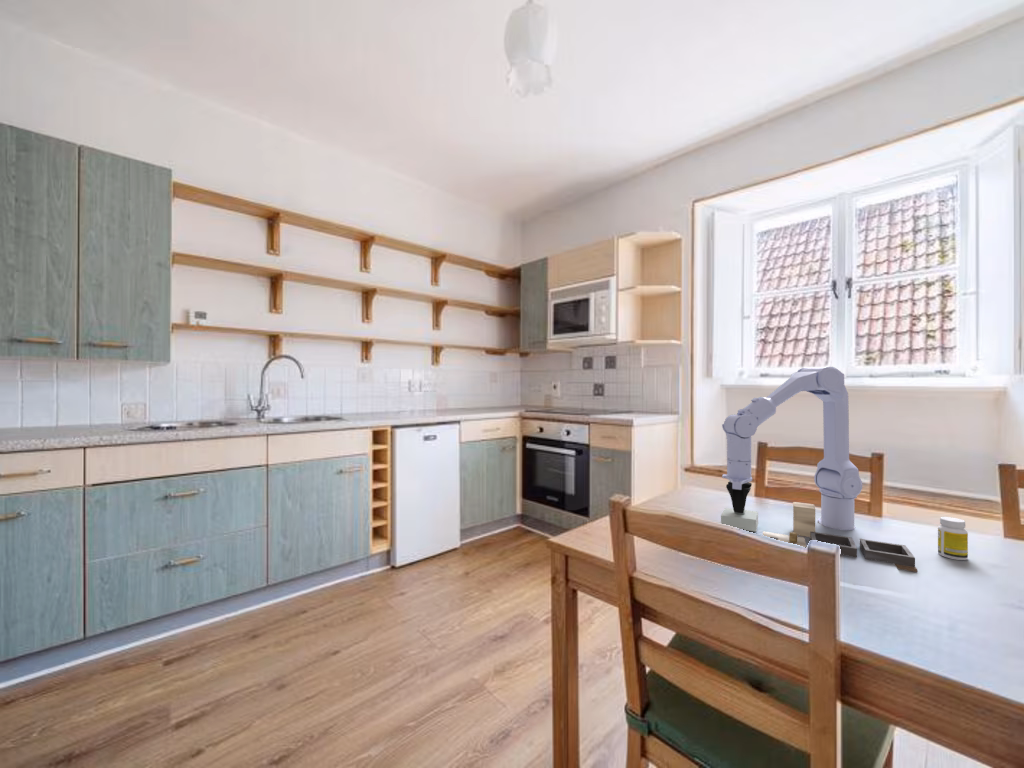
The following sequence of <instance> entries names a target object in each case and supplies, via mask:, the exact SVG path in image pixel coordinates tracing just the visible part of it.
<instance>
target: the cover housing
mask: <svg viewBox="0 0 1024 768" xmlns="http://www.w3.org/2000/svg"><path fill="white" fill-rule="evenodd" d="M745 508H746V507H745ZM745 508H744V512H743V513H737V512H734V510H733V508H727V507H725V508H724V509H723V510H722V513H721V515H720V523H722V524H726V525H730V526H733V527H737V528H740V529H744V530H743V531H748V532H754V533H755V532H757V530H758V526H759V511H754V510H745ZM740 529H739V530H740Z"/></svg>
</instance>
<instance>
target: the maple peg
mask: <svg viewBox="0 0 1024 768" xmlns="http://www.w3.org/2000/svg"><path fill="white" fill-rule="evenodd" d="M792 503H793V504H792V506H793V509H792V511H793V516H792V517H793V518H792V519H793V521H792V523H793V524H792V526H793V531H792V532H794V533H797V536H798V537H804V538H805V537H807V538H810V531H811V532H816V505H815V504H814V503H813V504H812V503H805V502H798V501H793V502H792Z"/></svg>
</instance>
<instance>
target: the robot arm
mask: <svg viewBox="0 0 1024 768" xmlns="http://www.w3.org/2000/svg"><path fill="white" fill-rule="evenodd" d="M801 392H808V393H810V394H812V395H814V396H815V397H816V398H818V399H820V400H821V401H822V402H823V403H822V406H823V407H822V408H823V409H822V416H823V419H822V420H823V423H822V424H823V426H822V427H823V458H822V459H821V460H819V462H817V464H816V465H817V468H816V471H815V473H814V476H813V478H814V479H813V480H814V484H815V486H816V487H818V488H819V490H818V491H819V493H821V494H820V496H821V498H820V510H821V511H820V516H821V517H818V518H817V521H818V524H821V525H822V526H824V527H826V528H830V529H834V530H839V531H840V530H841V531H853V530H855V529H856V525H855V499H858V498H857V497H858V496H859V495H860V494H861V492H862V490H863V481H862V479H861V477H860V473H859V472H860V470H859V469H858V467H857V466H856V465H855V464H854V463H853V462H852V461H851V460H850V427H849V426H850V425H849V424H850V423H849V422H850V419H849V418H850V417H849V415H850V413H849V392H848V391H847V388H846V386H845V374H844V373H843V372H842V371H841V370H839V369H838V368H836V367H834V366H832V365H830V366H824V367H821V366H820V367H817V366H816V367H808V366H807V367H802V368H799V369H798V370H797V371H795V372H793V373H792V374H791V375H790V377H789V378H788V379H787V380H786V381H785V382H783V383H782V384H780V386H778V387H777V388H776V389H775V390H774V391H772V392H770V394H769V395H767V396H766V397H764V396H760V397H753V398H752V399H751V400H750V401H751V402H750V403H749V404H747V405H746V406H745V407H744V408H739V409H738V410H737V413H736V414H730V415H728V416H727V417H726V418H725V420H724V421H723V424H721V427H722V430H723V431H724V433H725V435H726V474H724V473H723V474H722V476H721V478H722V479H726V480H728V482H727V484H726V487H725V488H726V490H727V492H728V494H729V495H730V500H731V505H732V509H733V510H734V512H737V513H743V512H744V508H746V503H747V497H748V495H749V493H750V492H751V488H752V485H753V483H752V481H753V477H752V436H754V435H755V434H756V433H757V430H758V427H759V426H760V425H762V424H763V423H764V422H766V421H767V420H768V419H770V418H771V417H773V416H774V415H775V414H776V412H777V407H779V406H780V405H782V404H783V403H785V402H786V401H788V400H789V399H791V398H792V397H794V396H795V395H797V394H799V393H801Z"/></svg>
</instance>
